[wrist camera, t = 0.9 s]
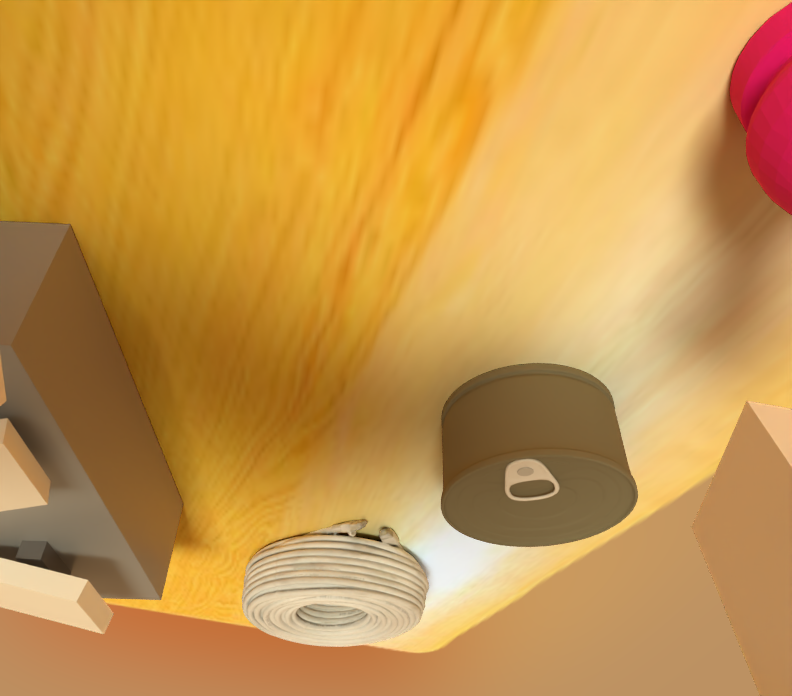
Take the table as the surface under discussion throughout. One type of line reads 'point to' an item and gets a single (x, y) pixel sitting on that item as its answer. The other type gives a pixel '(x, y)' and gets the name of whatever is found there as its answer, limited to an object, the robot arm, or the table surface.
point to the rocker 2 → (52, 596)
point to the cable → (335, 588)
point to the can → (534, 457)
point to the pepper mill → (767, 105)
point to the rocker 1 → (19, 472)
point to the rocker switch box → (79, 425)
